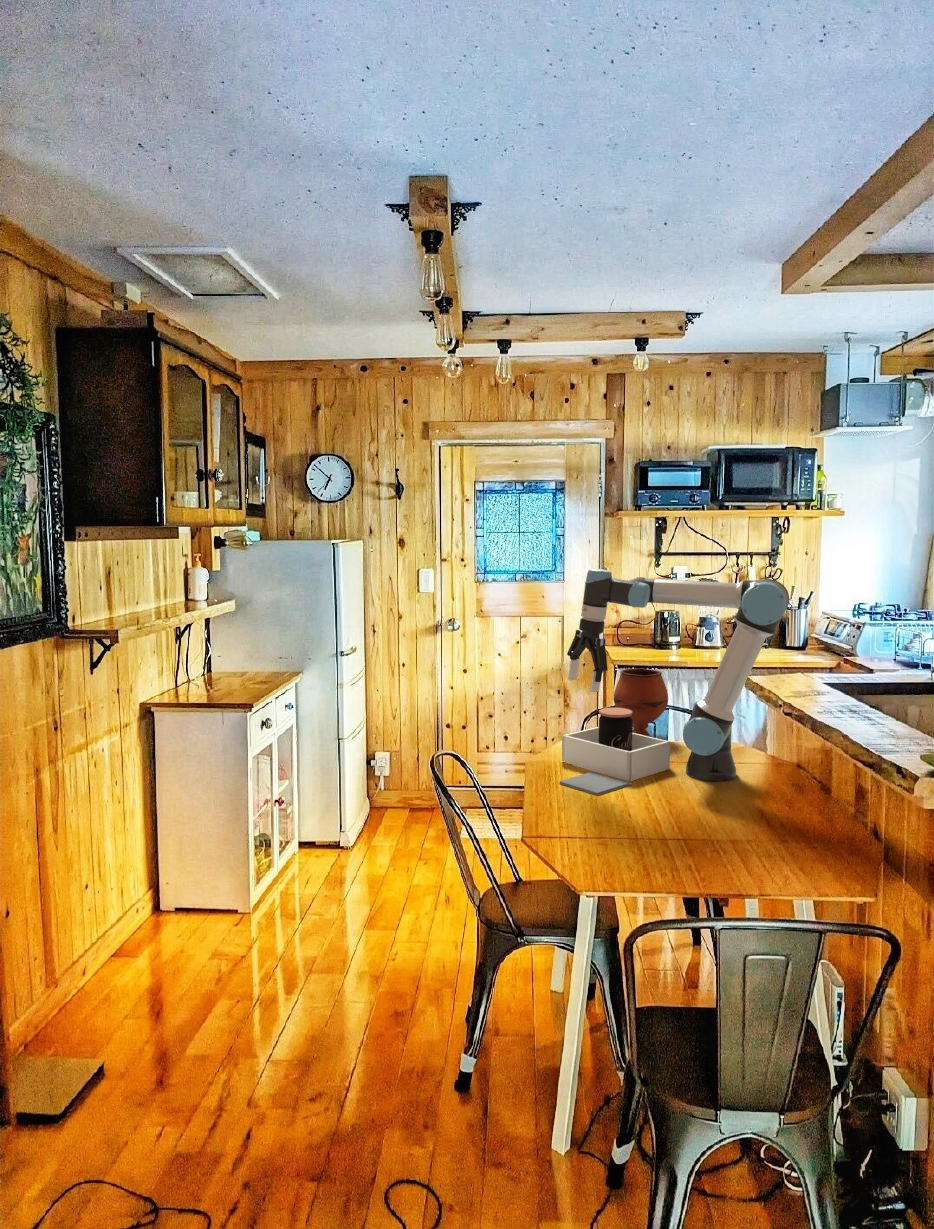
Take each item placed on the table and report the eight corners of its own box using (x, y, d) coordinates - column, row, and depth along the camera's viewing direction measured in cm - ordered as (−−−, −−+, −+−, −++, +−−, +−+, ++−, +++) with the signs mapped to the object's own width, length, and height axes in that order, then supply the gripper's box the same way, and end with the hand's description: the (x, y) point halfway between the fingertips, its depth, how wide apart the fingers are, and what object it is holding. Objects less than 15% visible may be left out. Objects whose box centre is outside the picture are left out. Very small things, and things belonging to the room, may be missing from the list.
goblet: (676, 744, 310) (678, 674, 307) (625, 747, 306) (626, 677, 303) (653, 731, 329) (654, 665, 326) (605, 734, 325) (606, 667, 322)
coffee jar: (611, 772, 277) (612, 716, 275) (591, 763, 286) (592, 709, 284) (638, 767, 282) (639, 712, 280) (618, 759, 291) (618, 706, 289)
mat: (630, 785, 264) (630, 782, 263) (597, 795, 254) (597, 792, 254) (592, 774, 275) (592, 771, 275) (559, 783, 265) (559, 781, 265)
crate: (669, 769, 280) (670, 741, 279) (629, 781, 267) (629, 752, 266) (602, 751, 301) (602, 725, 300) (561, 762, 288) (562, 735, 287)
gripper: (562, 610, 280) (553, 675, 284) (603, 627, 258) (593, 696, 261) (582, 611, 283) (573, 675, 287) (625, 627, 261) (615, 696, 264)
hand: (583, 685), depth 274 cm, fingers open, 13 cm apart
